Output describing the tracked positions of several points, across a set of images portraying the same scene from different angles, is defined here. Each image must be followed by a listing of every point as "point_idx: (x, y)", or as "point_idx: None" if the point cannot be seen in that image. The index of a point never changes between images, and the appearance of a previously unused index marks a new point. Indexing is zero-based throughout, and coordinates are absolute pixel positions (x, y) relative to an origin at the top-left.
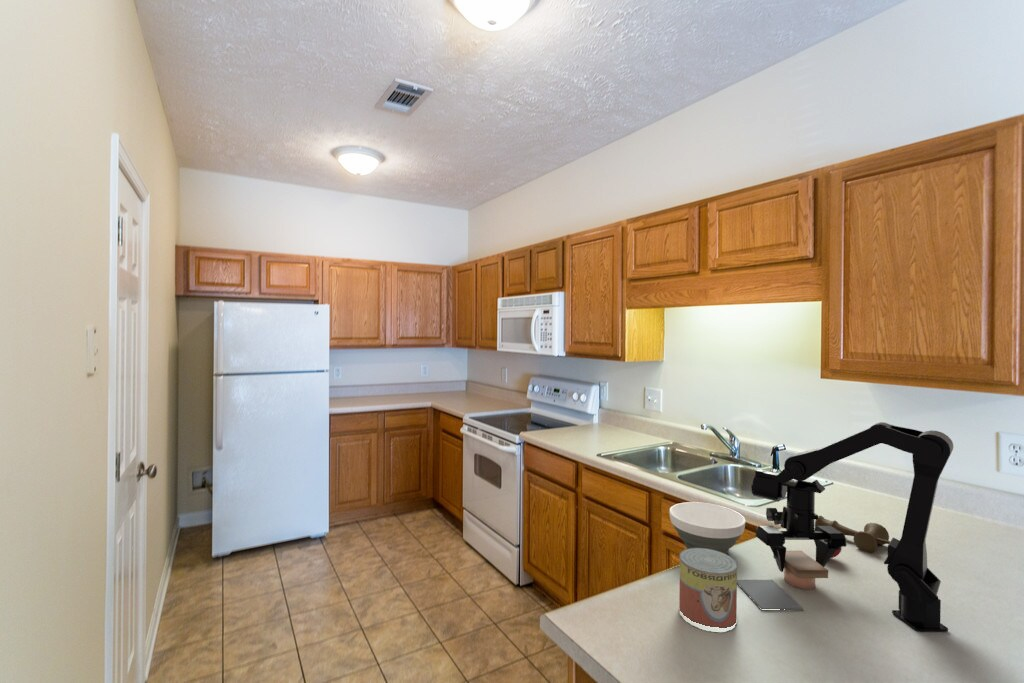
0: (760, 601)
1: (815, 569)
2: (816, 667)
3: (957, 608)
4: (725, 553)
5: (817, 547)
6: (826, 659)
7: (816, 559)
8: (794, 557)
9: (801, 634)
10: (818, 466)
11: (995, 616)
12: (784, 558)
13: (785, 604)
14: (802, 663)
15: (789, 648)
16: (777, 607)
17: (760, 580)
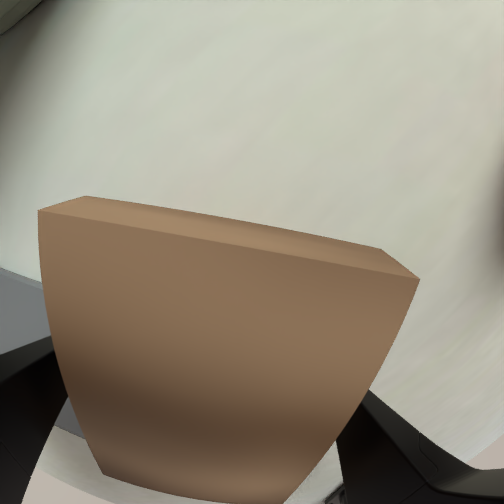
0: None
1: (212, 498)
2: (71, 483)
3: (486, 429)
4: (28, 8)
5: (417, 502)
6: (90, 487)
7: (370, 427)
8: (177, 404)
9: (71, 461)
10: None
11: (493, 436)
12: (36, 449)
13: (61, 420)
14: (56, 473)
15: (46, 459)
16: None
17: (21, 287)
